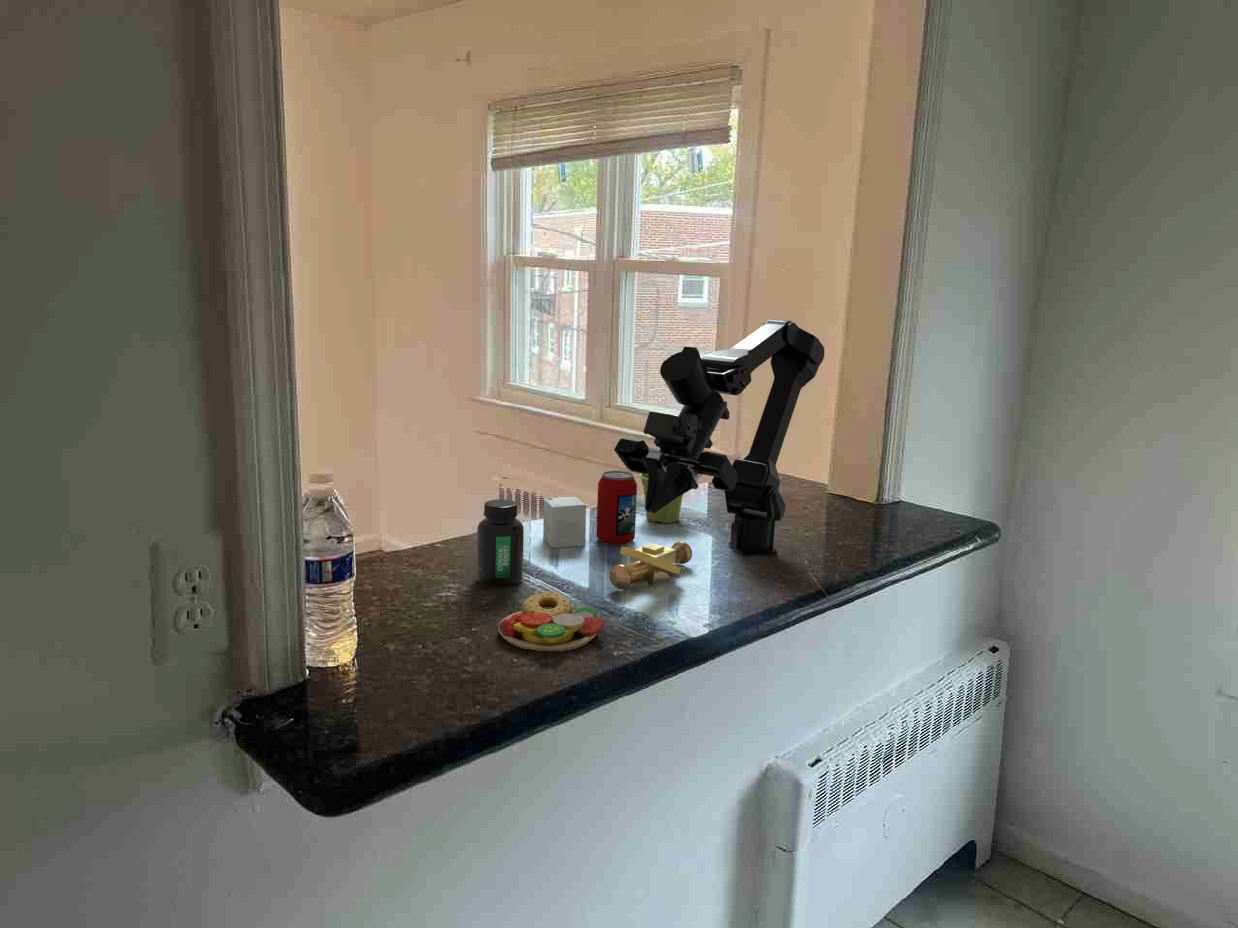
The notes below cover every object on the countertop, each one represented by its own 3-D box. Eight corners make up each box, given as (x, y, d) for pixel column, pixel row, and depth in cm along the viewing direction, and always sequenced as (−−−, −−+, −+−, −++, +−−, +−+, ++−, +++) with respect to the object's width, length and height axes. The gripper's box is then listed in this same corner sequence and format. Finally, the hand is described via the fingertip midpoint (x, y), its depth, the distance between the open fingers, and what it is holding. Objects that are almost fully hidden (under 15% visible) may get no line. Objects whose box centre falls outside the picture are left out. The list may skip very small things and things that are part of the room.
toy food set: (544, 608, 125) (545, 586, 125) (622, 632, 118) (623, 609, 117) (477, 637, 114) (477, 613, 114) (558, 666, 107) (558, 641, 106)
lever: (672, 562, 137) (623, 542, 126) (688, 567, 136) (640, 546, 125) (668, 576, 137) (618, 557, 126) (684, 581, 135) (635, 562, 124)
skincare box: (585, 546, 153) (587, 504, 151) (551, 549, 151) (552, 506, 149) (575, 536, 159) (576, 495, 157) (542, 538, 156) (542, 497, 155)
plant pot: (654, 528, 165) (656, 482, 163) (628, 515, 173) (630, 471, 171) (696, 523, 170) (699, 478, 168) (669, 510, 178) (671, 468, 176)
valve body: (672, 561, 147) (674, 531, 146) (699, 568, 144) (701, 538, 143) (603, 588, 133) (604, 556, 132) (632, 597, 130) (633, 564, 129)
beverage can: (630, 548, 153) (633, 480, 150) (592, 544, 154) (594, 476, 151) (637, 537, 159) (640, 471, 157) (600, 534, 160) (603, 468, 158)
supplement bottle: (511, 590, 131) (512, 511, 128) (469, 584, 133) (469, 506, 130) (529, 576, 137) (531, 500, 134) (488, 570, 139) (489, 495, 136)
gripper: (623, 383, 133) (573, 468, 127) (731, 398, 122) (683, 491, 116) (652, 428, 141) (607, 510, 135) (756, 446, 130) (712, 536, 124)
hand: (649, 511), depth 128 cm, fingers closed
